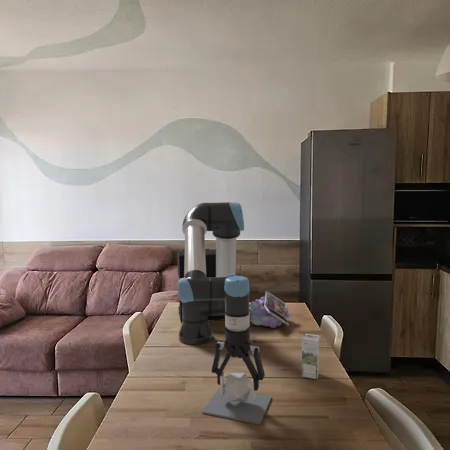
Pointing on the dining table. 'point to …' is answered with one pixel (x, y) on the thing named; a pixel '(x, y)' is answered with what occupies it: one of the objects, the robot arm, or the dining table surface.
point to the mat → (238, 408)
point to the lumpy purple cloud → (269, 311)
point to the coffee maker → (210, 272)
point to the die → (237, 387)
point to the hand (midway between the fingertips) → (238, 397)
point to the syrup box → (310, 356)
